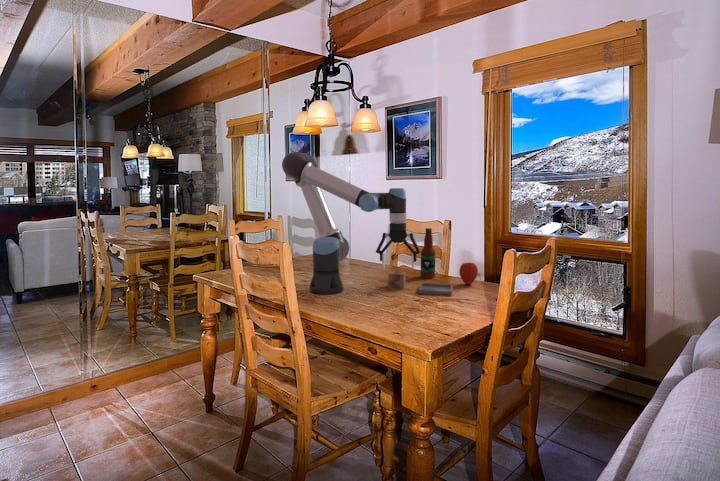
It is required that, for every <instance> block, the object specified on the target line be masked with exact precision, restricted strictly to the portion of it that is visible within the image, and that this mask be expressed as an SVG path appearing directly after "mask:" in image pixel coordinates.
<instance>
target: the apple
mask: <svg viewBox="0 0 720 481" xmlns="http://www.w3.org/2000/svg"><path fill="white" fill-rule="evenodd" d="M478 273H479V270H478V266H477V264H475V263H474V262H464V263H462V264H461V265H460V267H459V276H460V279H462V281H463V283H464V284H465V285H472V284H473V283H474V281H475V280H476V279H477V277H478V275H479V274H478Z"/></svg>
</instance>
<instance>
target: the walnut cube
mask: <svg viewBox="0 0 720 481" xmlns="http://www.w3.org/2000/svg"><path fill="white" fill-rule="evenodd" d="M406 274H407V272H406V271H402V270H401V271H400V270H390V271H389V273H388V274H387V276H388V277H387V278H388V283H387V285H388V286H387V289H388V290H401V289H403V290H405V288H406V284H407V283H406V280H407V279H406V278H407V276H406Z"/></svg>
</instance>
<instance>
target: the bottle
mask: <svg viewBox="0 0 720 481" xmlns="http://www.w3.org/2000/svg"><path fill="white" fill-rule="evenodd" d="M432 230H433V228H431V227H427V228H425V232H424V234H425V235H424V241H423V248H422V250H420V251H421V252H420V277H421V278H422V279H427V280H429V279H430V280H431V279H434V278H435V276H436V250H435V249H434V247H433V245H434V244H433V243H434V242H433V235H432V233H433V231H432Z"/></svg>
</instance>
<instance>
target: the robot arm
mask: <svg viewBox="0 0 720 481" xmlns="http://www.w3.org/2000/svg"><path fill="white" fill-rule="evenodd" d="M318 165H319V164H318V162H317V160H316V158H314V156H313V155H311V154H309V153H306V152H298V151H297V152H296V151H291V152H289V153H287V154H286V155H285V156H284V158H283V159H282V162H281V169H282V171H283V173H285V175H286V176H287V177H289V178H292V179H293V181H294V183H295V185H296V187H299V188H300V189H301V192H302V194H303V197H304V200H305V202H306V205H307V207H308V209H309V212H310V214H311V216H312V217H311V218H312V220H313V222H314V224H315V227H316V229H317V232H318V237H317V238H316V239H314V240H313V242H312V248H311V249H312V270H313V272H312V276H311V280H310V283H309V292H310V293H312V294H318V295H334V294H338V293H339V294H340V293H342V292H344V284H343V281H342V277H341V274H340V262H341V261H343V260H344V259H346V258H347V257H348V255H349V252H350V243H349V241H348V240H347V238H345V237H344V236H343V232H342V231H341V229H339V228H337V226H336V224H335V221H334V219H333V216H332V213H331V211H330V209H329V206H328V204H327V201H326V198H325V196H324V193H323V191H324V192H327V193H329V194H331V195H333V196H335V197H337V198H340V199H342V200H344V201H346V202H348V203H351V204H352V205H354V206H356V207H359V208H360V210H362V211H363V212H367V213H371V212H374V211H377V210H389V211H388V212H389V215H388V216H389V219H388V220H389V222H390V223H389V233H388V232H383V233H382V238H381V240H380V242H379V243H378V246H377V248H376V249H375V254H379V261H380V262H381V269H385V268H386V259H385V258H386V257H385V256H386V255H385V254H386V253H384V252H385V251H386V250H387V249H388V248H389V247H390V245H391V244H392V243H394V244H398V243H399V244H402V243H403V244H404V245H405V246H406V247H407V249H409V251H410V252H411V253H412V254H411V270H414V269H415V262H417V255H419V254H421V251H422V250H420V247H419V245H418V243H417V241H416V239H415V238H414V237H415V236H414V232H411V233H410V232H409V233H407V223H406V221H407V194H406V193H407V192H406V189H405V188H403V187H398V188H397V187H391V188H389V189H388V192H369V191H367V190H365V189H362V188H360V187H359V186H356V185H355V184H352V183H350V182H349V181H346V180H344V179H342V178H340V177H338V176H336V175H333V174H331V173H329V172H327V171H325V170H323V169H321V168H318ZM322 190H323V191H322ZM388 237H389V241H388V242H387V243H386V245H385V246H384V247H383V248H382V246H383V245H384V243H385V241H386V239H387V238H388ZM407 237H408V238H409V239H410V241H411V243H412V245H413V246H412V245H411V244H410V242H409V241H408V240H407ZM413 247H414V248H413ZM381 248H382V249H381Z"/></svg>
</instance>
